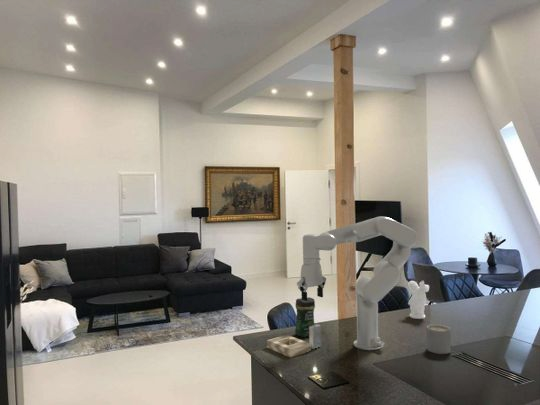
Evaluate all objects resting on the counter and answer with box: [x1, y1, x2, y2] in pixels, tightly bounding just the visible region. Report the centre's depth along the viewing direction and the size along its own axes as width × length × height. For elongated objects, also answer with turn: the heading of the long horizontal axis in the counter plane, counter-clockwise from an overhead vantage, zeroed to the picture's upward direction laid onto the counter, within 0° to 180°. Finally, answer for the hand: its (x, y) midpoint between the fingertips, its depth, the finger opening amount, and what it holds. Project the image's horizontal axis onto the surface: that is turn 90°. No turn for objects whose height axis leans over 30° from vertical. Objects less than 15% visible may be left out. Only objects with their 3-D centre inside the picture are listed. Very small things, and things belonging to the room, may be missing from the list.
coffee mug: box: [426, 324, 452, 355], centre depth 192 cm, size 13×10×10 cm
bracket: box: [306, 323, 322, 350], centre depth 196 cm, size 6×5×10 cm
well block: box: [267, 334, 312, 358], centre depth 193 cm, size 16×12×4 cm
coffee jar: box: [294, 297, 316, 338], centre depth 213 cm, size 10×8×19 cm
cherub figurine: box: [407, 280, 430, 320], centre depth 244 cm, size 12×12×22 cm
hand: (312, 298), depth 196 cm, fingers open, 9 cm apart
